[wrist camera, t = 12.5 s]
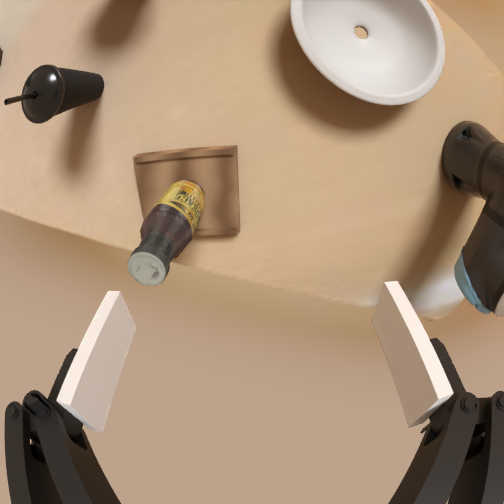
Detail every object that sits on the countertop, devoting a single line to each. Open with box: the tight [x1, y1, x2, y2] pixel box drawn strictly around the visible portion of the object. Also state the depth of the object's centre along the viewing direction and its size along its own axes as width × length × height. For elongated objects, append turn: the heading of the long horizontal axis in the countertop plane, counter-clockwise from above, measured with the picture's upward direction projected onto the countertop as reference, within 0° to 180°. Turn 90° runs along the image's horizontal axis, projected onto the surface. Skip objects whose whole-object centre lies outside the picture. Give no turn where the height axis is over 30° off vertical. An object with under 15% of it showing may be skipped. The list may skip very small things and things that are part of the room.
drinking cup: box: [4, 65, 104, 124], centre depth 23 cm, size 8×8×20 cm
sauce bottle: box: [128, 180, 205, 286], centre depth 33 cm, size 7×6×20 cm
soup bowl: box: [290, 0, 445, 105], centre depth 26 cm, size 24×24×7 cm
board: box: [133, 146, 240, 236], centre depth 42 cm, size 16×14×3 cm
